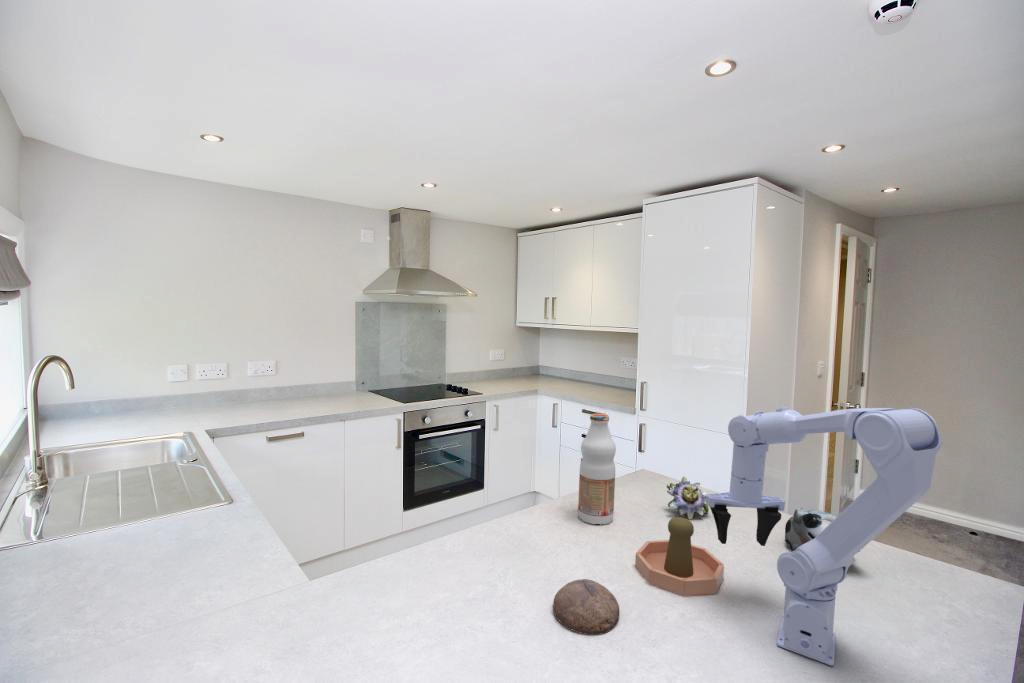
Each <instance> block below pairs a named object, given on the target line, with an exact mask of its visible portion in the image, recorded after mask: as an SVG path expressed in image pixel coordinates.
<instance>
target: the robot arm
mask: <svg viewBox="0 0 1024 683" xmlns="http://www.w3.org/2000/svg"><path fill="white" fill-rule="evenodd" d="M775 410H776V411H770V412H764V411H763V410H762V411H755V412H754V414H750V415H749V414H748V415H742V414H739V415H737V416H735V417H733V418H732V419H731V420H730V421H729V423H728V426H727V427H728V428H727V432H728V436H729V437H730V439H731V441H732V442H733V448H732V462H731V472H730V482H729V491H728V492H727V491H725V492H718V493H707V494H706V504H707V505H708V508H709V510H710V511H711V514H712V516H713V519H714V524H715V526H716V533H717V540H718V541H719V542H720V543H721V544H722V545H726V544H727V540H728V528H729V524H730V520H731V517H732V515H731V514H730V513H729V511H728V508H729V507H730V508H744V509H745V508H747V509H756V515H757V516H756V517H757V525H756V535H755V536H756V537H755V538H756V542H757V543H758V544H759V545H760V546H762V547H765V546H766V544H767V541H768V538H769V536H770V534H771V533H772V530H773V529H774V528H775V526H776V525H777V524H778V523H779V522H780V521H781V519H782V513H781V512H782V511H783V512H784V511H785V506H786V505H785V504H786V501H785V500H784V499H782V497H779V496H771V495H764V494H763V491H764V490H763V489H764V481H765V480H764V478H765V467H766V456H767V453H768V451H769V448H770V447H769V446H770V445H775V444H791V443H800V442H802V441H804V439H805V438H806V436H807V435H808V434H810V435H811V434H825V433H826V434H827V433H829V434H830V433H844V434H845V436H847V437H848V439H849V440H851V441H854V440H855V441H856V440H857V443H858V445H859V446H860V448H861V449H862V452H863V453H864V455H865V456H866V458H867V460H868V461H869V464H870V465H871V467H872V468H873V469H874V470H873V471H874V472H875V474H876V476H877V478H876V479H875V480H874V481H873V482H872V483H870V485H868V487H867V488H865V489H864V490H863V492H861V493H860V494H859V495H858V496H857V497H856V498H855V499H853V501H852V502H851V503H850V504H849V505H848V506H847V507H846V508H845V509H844V510H842V512H840V513H839V515H837V516H836V518H835V519H834V520H833V521H832V522H831V523H830V524H829V525H828V526H827V527H826V528H825V529H824V530H823V531H822V532H821V533H820V534H819V535H818V536H817V537H816V538H814V539H812V540H810V541H809V542H807V543H805V544H803V545H801V546H799V547H798V548H797V549H796V550H795V551H785V552H783V553H782V554H780V555H779V557H778V558H777V562H776V568H777V572H778V576H779V579H781V581H782V582H783V586H784V588H785V593H784V605H783V606H784V607H783V615H782V619H781V622H780V627H779V631H778V634H777V635H778V636H777V640H776V645H777V646H778V647H780V648H783V649H786V650H788V651H790V652H793V653H797V654H799V655H802V656H804V657H807V658H810V659H813V660H815V661H817V662H820V663H823V664H824V665H825V664H826V665H829V666H832V667H833V666H834V665H835V657H836V656H835V654H836V653H835V652H836V633H835V632H834V624H835V623H834V621H835V611H836V610H835V606H836V596H837V591H838V585H839V584H841V583H843V582H844V580H845V579H846V578H847V575H848V569H849V568H850V566H852V565H853V564H854V559H853V557H855V556H856V553H857V554H858V553H860V552H861V550H863V549H864V548H865V547H866V546H867V545H868V544H869V543H870V542H872V541H873V540H874V539H875V538H876V537H877V536H878V535H880V534H881V533H882V532H883V531H884V530H885V529H887V528H888V527H890V525H891V524H893V523H894V522H895V521H896V520H898V518H900V517H901V516H902V515H903V514H904V513H905V512H907V510H909V509H910V508H911V507H912V506H913V505H915V504H916V503H917V502H918V501H920V499H921V498H923V497H924V496H925V495H926V494H927V493H928V491H929V490H930V488H931V484H932V478H933V474H934V470H935V469H934V467H935V464H936V458H937V455H938V453H939V451H940V450H941V448H942V447H943V445H944V441H943V438H942V435H941V431H940V429H939V426H938V423H937V421H936V420H935V419H934V418H933V416H931V415H930V413H928V412H926V411H924V410H923V409H920V408H916V407H904V408H900V409H895V408H893V407H863V408H862V407H859V408H847V409H846V408H845V409H839V410H832V411H826V412H825V411H824V412H820V413H818V412H817V413H812V414H806V415H802V413H800V412H798V411H796V410H794V409H789V408H788V406H786V407H785V406H784V407H776V408H775ZM727 507H728V508H727ZM779 511H780V512H779ZM862 548H863V549H862ZM859 551H860V552H859Z"/></svg>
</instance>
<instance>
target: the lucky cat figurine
mask: <svg viewBox="0 0 1024 683" xmlns="http://www.w3.org/2000/svg"><path fill="white" fill-rule="evenodd" d="M836 517H837V516H836V515H834V514H833V513H832V514H831V513H829V512H826V511H824V510H817V509H810V510H808V511H805V510H804V508H802V507H798V508H796V509H795V510H794V513H793V516H790V518H789V519H788V520H787V521H786V523H785V528H784V530H785V531H784V542H785V543H786V544H788V545H789V547H790V549H791V552H793V551H795V550H796V549H797V548H798V547H799V546H801V545H803V544H805V543H807V542H809V541H810V540H812V539H814V538H816V537H817V536H818V535H819V534H820V533H821V532H822V531H823V530H824V529H825V528H826V527H827V526H828V525H829V524H830V523H831V522H832V521H833V520H834V519H835V518H836ZM863 549H864V547H863V548H862V549H861V550H863ZM861 550H860V551H859V552H858V553H860V552H861ZM858 553H856V554H858ZM856 554H855V555H856Z"/></svg>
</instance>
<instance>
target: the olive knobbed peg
mask: <svg viewBox="0 0 1024 683" xmlns="http://www.w3.org/2000/svg"><path fill="white" fill-rule="evenodd" d="M694 527H695V526H694V525H693V523H692V521H690V520H688V518H684V517H681V516H680V517H673V518H670V519H669V520H668V522H667V531H668V532H669V539H668V540H669V543H668V548H667V554H666V559H665V564H664V569H665V571H666V572H667V573H669V574H671V575H674V576H677V577H680V578H688V577H691V576H692V575H693V574H694V572H693V560H692V548H691V545H692V540H691V538H692V536H694V531H695V530H694Z"/></svg>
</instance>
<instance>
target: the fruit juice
mask: <svg viewBox="0 0 1024 683" xmlns="http://www.w3.org/2000/svg"><path fill="white" fill-rule="evenodd" d="M589 419H590V425H589V428H588V431H587V433H586V435H585V438H584V439H583V440H582V442H581V445H580V450H581V455H582V459H581V461H580V464H579V480H578V482H579V483H578V504H577V506H578V510H577V514H578V517H579V519H580V520H581V519H582V520H583V521H582V520H581V521H582V522H584V521H585V522H584V523H587V522H588V523H587V524H590V523H592V524H591V525H595V524H600V525H602V524H603V525H608V524H610V523H612V521H613V520H614V516H615V515H614V510H615V509H614V508H615V489H616V488H615V486H616V464H615V462H614V461H615V460H614V458H615V456H616V451H617V449H616V448H617V446H616V444H615V442H614V440H613V438H612V435H611V432H610V428H609V425H608V423H609V421H610V417H609V415H608V414H605V413H591V414H590V417H589Z"/></svg>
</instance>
